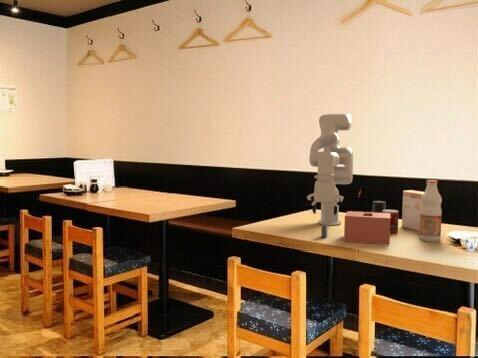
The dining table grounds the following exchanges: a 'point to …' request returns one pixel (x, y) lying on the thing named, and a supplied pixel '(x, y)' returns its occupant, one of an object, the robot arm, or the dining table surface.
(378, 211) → the ink bottle
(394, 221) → the canned food
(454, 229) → the dining table surface
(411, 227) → the coffeecake box
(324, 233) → the block
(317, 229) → the dining table surface
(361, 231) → the box
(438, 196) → the fruit juice
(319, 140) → the robot arm
